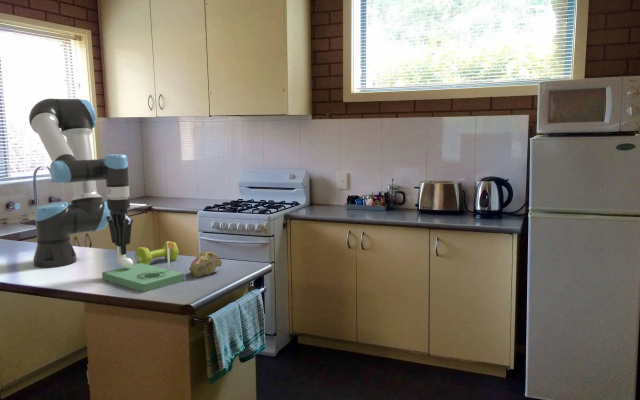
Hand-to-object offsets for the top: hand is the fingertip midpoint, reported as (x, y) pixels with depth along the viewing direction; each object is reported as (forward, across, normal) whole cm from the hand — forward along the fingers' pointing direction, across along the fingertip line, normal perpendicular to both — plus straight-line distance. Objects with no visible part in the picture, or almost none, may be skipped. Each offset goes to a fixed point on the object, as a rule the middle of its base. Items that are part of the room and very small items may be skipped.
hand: (122, 263), depth 196 cm
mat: (+4, +12, 0) cm, 13 cm away
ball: (0, +3, 0) cm, 3 cm away
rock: (+5, +22, +18) cm, 29 cm away
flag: (+4, +18, +7) cm, 20 cm away
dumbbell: (+5, -4, +18) cm, 19 cm away
